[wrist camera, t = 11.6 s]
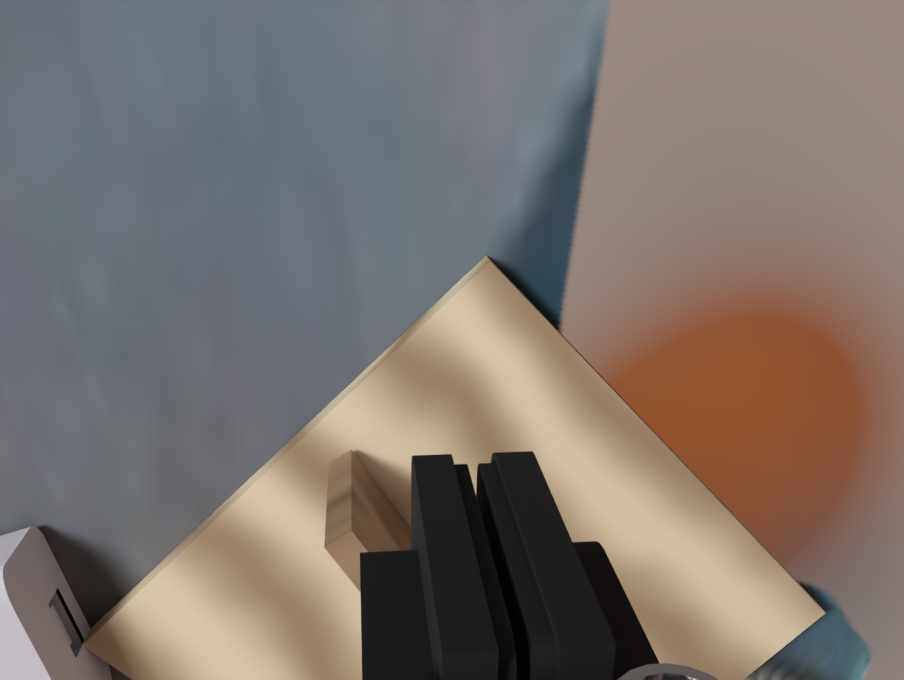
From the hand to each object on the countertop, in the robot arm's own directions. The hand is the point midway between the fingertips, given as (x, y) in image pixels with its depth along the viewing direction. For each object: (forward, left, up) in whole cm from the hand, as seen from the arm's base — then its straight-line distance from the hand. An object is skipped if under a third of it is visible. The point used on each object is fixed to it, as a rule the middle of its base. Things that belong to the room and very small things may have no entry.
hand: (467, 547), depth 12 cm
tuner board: (+11, +17, -26) cm, 33 cm away
